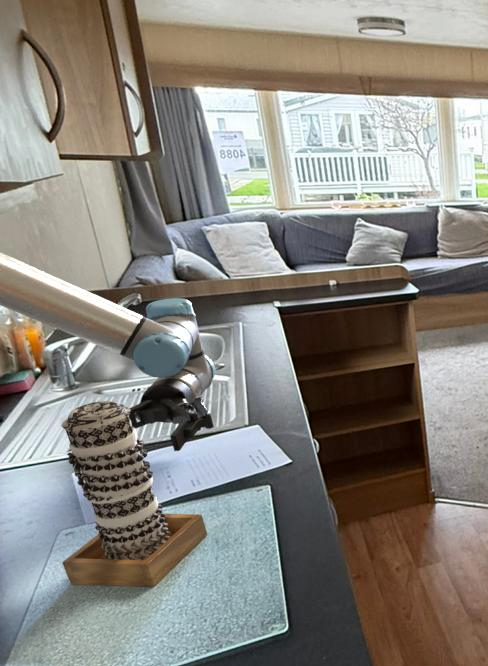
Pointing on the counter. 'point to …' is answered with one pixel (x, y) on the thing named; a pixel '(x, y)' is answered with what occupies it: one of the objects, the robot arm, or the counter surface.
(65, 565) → the tray
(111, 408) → the decorative candle
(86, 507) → the counter surface
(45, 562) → the counter surface
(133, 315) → the robot arm
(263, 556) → the counter surface
